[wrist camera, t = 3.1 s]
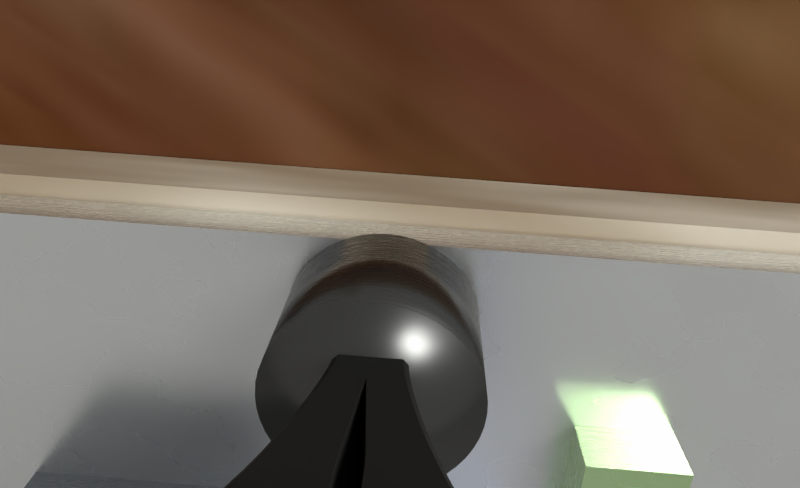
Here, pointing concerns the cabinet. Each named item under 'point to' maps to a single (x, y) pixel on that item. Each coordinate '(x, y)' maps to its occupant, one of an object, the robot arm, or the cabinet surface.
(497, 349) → the leveling plate
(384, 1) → the cabinet surface
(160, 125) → the cabinet surface
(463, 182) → the leveling base
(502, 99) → the cabinet surface
